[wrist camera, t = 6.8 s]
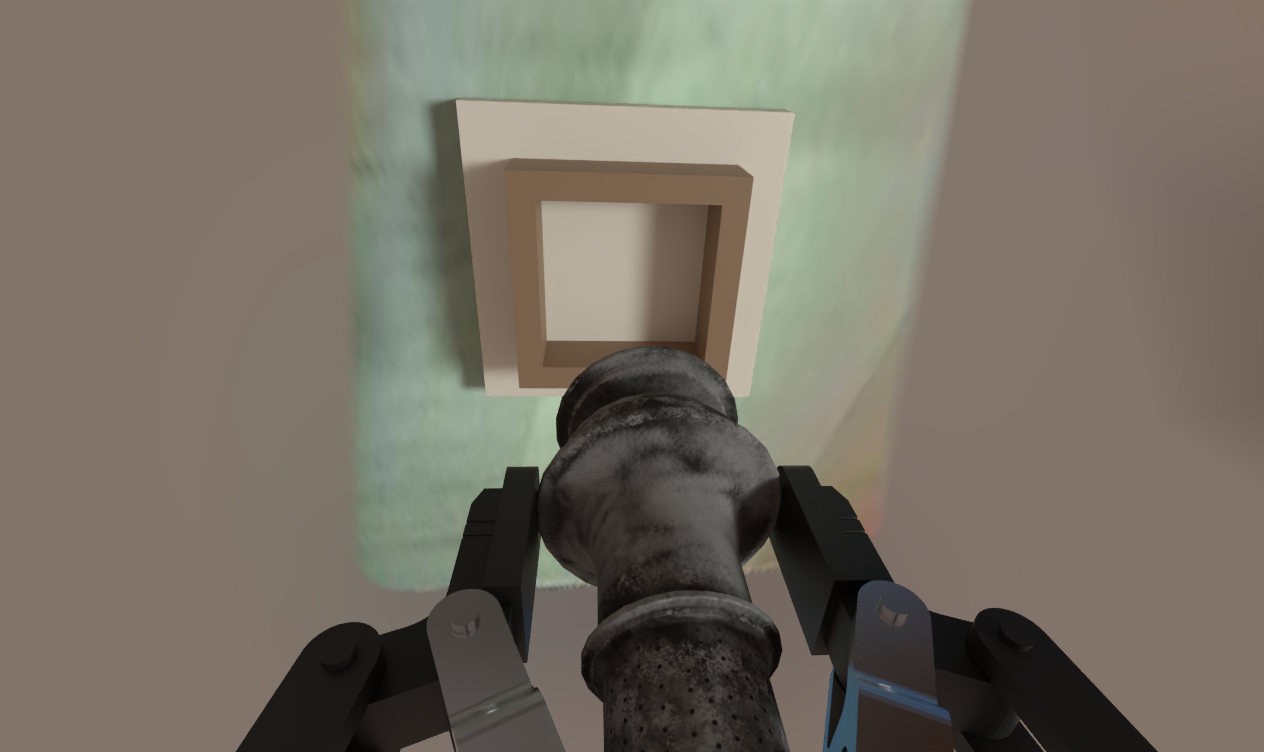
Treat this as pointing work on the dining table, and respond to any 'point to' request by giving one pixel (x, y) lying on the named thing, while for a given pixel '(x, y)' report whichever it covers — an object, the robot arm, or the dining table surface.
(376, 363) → the dining table surface
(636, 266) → the shaker stand
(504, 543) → the robot arm
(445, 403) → the dining table surface
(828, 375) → the dining table surface
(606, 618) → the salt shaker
